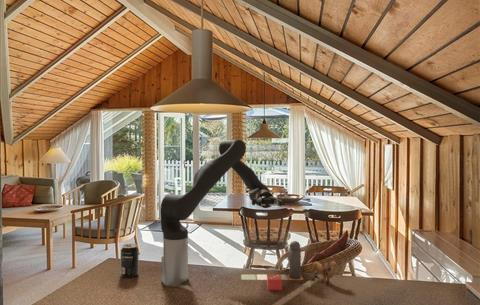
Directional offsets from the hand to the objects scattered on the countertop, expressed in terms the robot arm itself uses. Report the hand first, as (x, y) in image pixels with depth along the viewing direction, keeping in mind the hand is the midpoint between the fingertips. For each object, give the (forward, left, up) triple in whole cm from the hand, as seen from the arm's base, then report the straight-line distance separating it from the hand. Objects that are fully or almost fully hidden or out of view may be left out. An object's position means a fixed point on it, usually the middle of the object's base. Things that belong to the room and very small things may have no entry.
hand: (270, 203), depth 152 cm
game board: (+7, -10, -28) cm, 30 cm away
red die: (+13, -18, -28) cm, 35 cm away
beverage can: (-41, -40, -28) cm, 64 cm away
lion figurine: (+23, +2, -28) cm, 36 cm away
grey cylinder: (+14, -4, -27) cm, 30 cm away
